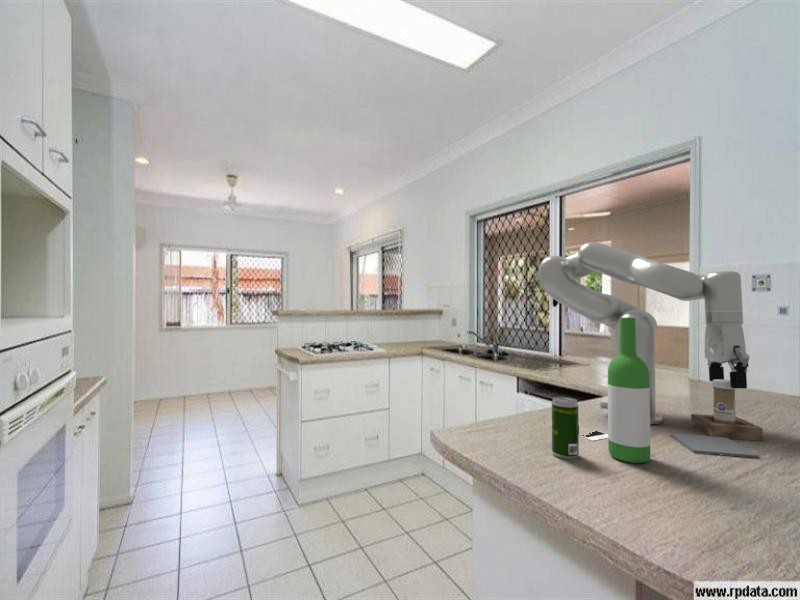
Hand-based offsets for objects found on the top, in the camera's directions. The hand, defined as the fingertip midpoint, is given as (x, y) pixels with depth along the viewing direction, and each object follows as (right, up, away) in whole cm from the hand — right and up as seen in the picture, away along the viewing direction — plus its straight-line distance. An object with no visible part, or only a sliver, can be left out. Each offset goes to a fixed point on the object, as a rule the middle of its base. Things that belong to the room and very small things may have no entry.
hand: (727, 384), depth 99 cm
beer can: (-49, -12, -16) cm, 53 cm away
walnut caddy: (-1, -12, 0) cm, 12 cm away
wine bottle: (-36, -12, -18) cm, 42 cm away
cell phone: (-38, -13, +2) cm, 41 cm away
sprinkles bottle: (-1, -13, 0) cm, 13 cm away
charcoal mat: (-13, -12, -10) cm, 20 cm away
